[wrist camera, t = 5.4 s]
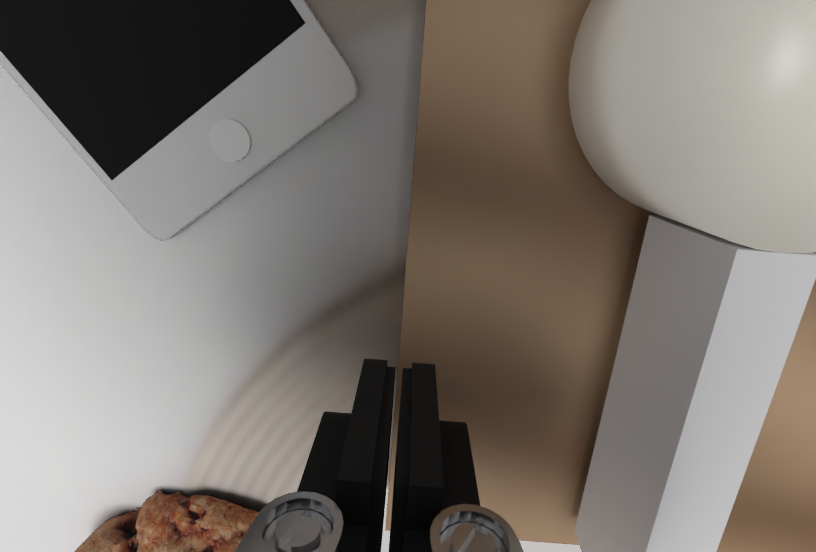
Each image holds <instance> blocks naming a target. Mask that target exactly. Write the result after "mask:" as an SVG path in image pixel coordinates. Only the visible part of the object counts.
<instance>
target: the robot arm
mask: <svg viewBox="0 0 816 552" xmlns="http://www.w3.org/2000/svg"><path fill="white" fill-rule="evenodd" d="M395 369H396V367H387V360H375V359H364V362H363V366H362V371H361V375H360V379H359V384H358V388H357V392H356V397H355V401H354V405H353V409H352V414H351V413H338V412H324V414H323V416H322V419H321V422H320V425H319V428H318V431H317V434H316V437H315V440H314V443H313V446H312V449H311V452H310V455H309V458H308V461H307V464H306V467H305V470H304V473H303V476H302V479H301V482H300V485H299V488H298V491H297V492H294V493H288V494H286V495H283V496H281V497H278V498H276V499H274V500H273V501H271V502H270V503H269V504H267V505H266V506H264V508H263V509H262V510H261V511H260V512H259V514H258V515H257V516H256V517H255V519H254V521H253V522H252V524H251V526H250V527H249V529H248V530H247V532H246V534H245V535H244V537H243V539H242V540H241V542H240V544H239V545H238V547H237V548H236V550H235V552H381V541H382V530H383V519H384V508H385V496H386V485H387V474H388V461H389V448H390V435H391V422H392V409H393V395H394V382H395ZM389 552H523V549H522V547H521V545H520V542H519V540H518V537H517V535H516V534H515V532H514V530H513V529H512V527H511V525H510V524H509V523H508V522H507V521H506V520H505V519H503V518H502V517H501V516H500V515H498V514H497V513H495V512H493V511H492V510H490V509H488V508H485V507H481V506H480V500H479V494H478V488H477V482H476V476H475V469H474V463H473V457H472V451H471V445H470V439H469V433H468V427H467V424H466V423H465V422H453V421H441V420H439V411H438V397H437V383H436V369H435V364H426V363H413V362H412V368H403V373H402V385H401V397H400V410H399V422H398V434H397V446H396V459H395V471H394V486H393V500H392V515H391V529H390V544H389Z"/></svg>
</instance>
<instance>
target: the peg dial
mask: <svg viewBox="0 0 816 552" xmlns="http://www.w3.org/2000/svg"><path fill="white" fill-rule="evenodd" d="M569 105H570V112H571V119H572V123H573V127H574V130H575V134H576V137H577V140H578V142H579V144H580V147H581V149H582V151H583V154H584V156H585V157H586V159H587V160H588V162H589V164H590V165H591V167H592V168H593V170H594V171H595V172H596V174H597V175H598V176H599V177H600V178H601V179H602V181H603V182H604V183H605V184H606V185H607V186H609V187H610V188H611V189H612V190H613V191H614V192H615V193H616V194H618V195H619V196H621V197H622V198H624V199H626V200H627V201H629V202H630V203H632V204H634V205H636V206H638V207H641V208H643V209H645V210H647V211H650V212H653V213H655V214H658V215H661V216H653V215H649V219H648V223H647V227H646V231H645V235H644V240H643V244H642V248H641V252H640V256H639V261H638V265H637V269H636V273H635V278H634V282H633V286H632V290H631V294H630V299H629V303H628V307H627V311H626V315H625V320H624V324H623V328H622V332H621V337H620V341H619V345H618V349H617V353H616V358H615V362H614V366H613V370H612V374H611V379H610V383H609V387H608V391H607V395H606V400H605V404H604V408H603V412H602V417H601V421H600V425H599V429H598V433H597V438H596V442H595V446H594V450H593V454H592V459H591V463H590V467H589V471H588V476H587V480H586V484H585V488H584V492H583V497H582V501H581V505H580V509H579V513H578V518H577V522H576V526H575V530H574V532H575V535H576V537H577V540H578V542H579V545H580V548H581V550H582V552H716V551H717V549H718V546H719V543H720V540H721V538H722V535H723V532H724V529H725V527H726V524H727V521H728V518H729V516H730V513H731V510H732V507H733V505H734V502H735V499H736V496H737V494H738V491H739V488H740V485H741V483H742V480H743V477H744V474H745V472H746V469H747V466H748V464H749V461H750V458H751V455H752V453H753V450H754V447H755V444H756V442H757V439H758V436H759V433H760V431H761V428H762V425H763V422H764V420H765V417H766V414H767V411H768V409H769V406H770V403H771V400H772V398H773V395H774V392H775V389H776V387H777V384H778V381H779V378H780V376H781V373H782V370H783V367H784V365H785V362H786V359H787V356H788V354H789V351H790V348H791V345H792V343H793V340H794V337H795V334H796V332H797V329H798V326H799V323H800V321H801V318H802V315H803V312H804V310H805V307H806V304H807V301H808V299H809V296H810V293H811V290H812V288H813V285H814V282H815V279H816V253H813V252H816V0H591V2H590V4H589V6H588V8H587V10H586V12H585V14H584V16H583V19H582V21H581V24H580V27H579V30H578V33H577V36H576V39H575V43H574V48H573V52H572V56H571V62H570V72H569Z"/></svg>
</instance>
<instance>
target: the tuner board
mask: <svg viewBox="0 0 816 552" xmlns="http://www.w3.org/2000/svg"><path fill="white" fill-rule="evenodd" d="M590 2H591V0H426V12H425V25H424V38H423V51H422V64H421V77H420V90H419V103H418V116H417V129H416V142H415V154H414V167H413V180H412V193H411V206H410V219H409V232H408V245H407V258H406V271H405V284H404V297H403V310H402V323H401V336H400V349H399V362H398V375H397V387H396V400H395V413H394V426H393V439H392V452H391V465H390V478H389V491H388V504H387V517H386V530H390V529H391V515H392V500H393V486H394V471H395V459H396V446H397V434H398V422H399V410H400V397H401V385H402V373H403V368H412V362H413V363H426V364H435V369H436V383H437V397H438V411H439V420H441V421H453V422H465V423H466V424H467V427H468V433H469V439H470V445H471V451H472V457H473V463H474V469H475V476H476V482H477V488H478V494H479V500H480V506H481V507H485V508H488V509H490V510H492V511H493V512H495V513H497V514H498V515H500V516H501V517H502V518H503V519H505V520H506V521H507V522H508V523H509V524H510V525H511V527H512V529H513V530H514V532H515V534H516V535H517V537H518V540H522V541H535V542H549V543H562V544H574V545H579V542H578V540H577V537H576V535H575V532H574V530H575V526H576V522H577V518H578V513H579V509H580V505H581V501H582V497H583V492H584V488H585V484H586V480H587V476H588V471H589V467H590V463H591V459H592V454H593V450H594V446H595V442H596V438H597V433H598V429H599V425H600V421H601V417H602V412H603V408H604V404H605V400H606V395H607V391H608V387H609V383H610V379H611V374H612V370H613V366H614V362H615V358H616V353H617V349H618V345H619V341H620V337H621V332H622V328H623V324H624V320H625V315H626V311H627V307H628V303H629V299H630V294H631V290H632V286H633V282H634V278H635V273H636V269H637V265H638V261H639V256H640V252H641V248H642V244H643V240H644V235H645V231H646V227H647V223H648V219H649V215H653V216H661V215H658V214H655V213H653V212H650V211H647V210H645V209H643V208H641V207H638V206H636V205H634V204H632V203H630V202H629V201H627V200H626V199H624V198H622V197H621V196H619V195H618V194H616V193H615V192H614V191H613V190H612V189H611V188H610V187H609V186H607V185H606V184H605V183H604V182H603V181H602V179H601V178H600V177H599V176H598V175H597V174H596V172H595V171H594V170H593V168H592V167H591V165H590V164H589V162H588V160H587V159H586V157H585V156H584V154H583V151H582V149H581V147H580V144H579V142H578V140H577V137H576V134H575V130H574V127H573V123H572V119H571V112H570V105H569V72H570V62H571V56H572V52H573V48H574V43H575V39H576V36H577V33H578V30H579V27H580V24H581V21H582V19H583V16H584V14H585V12H586V10H587V8H588V6H589V4H590ZM813 253H816V252H813ZM716 552H816V279H815V282H814V285H813V288H812V290H811V293H810V296H809V299H808V301H807V304H806V307H805V310H804V312H803V315H802V318H801V321H800V323H799V326H798V329H797V332H796V334H795V337H794V340H793V343H792V345H791V348H790V351H789V354H788V356H787V359H786V362H785V365H784V367H783V370H782V373H781V376H780V378H779V381H778V384H777V387H776V389H775V392H774V395H773V398H772V400H771V403H770V406H769V409H768V411H767V414H766V417H765V420H764V422H763V425H762V428H761V431H760V433H759V436H758V439H757V442H756V444H755V447H754V450H753V453H752V455H751V458H750V461H749V464H748V466H747V469H746V472H745V474H744V477H743V480H742V483H741V485H740V488H739V491H738V494H737V496H736V499H735V502H734V505H733V507H732V510H731V513H730V516H729V518H728V521H727V524H726V527H725V529H724V532H723V535H722V538H721V540H720V543H719V546H718V549H717V551H716Z"/></svg>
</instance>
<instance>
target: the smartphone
mask: <svg viewBox="0 0 816 552" xmlns="http://www.w3.org/2000/svg"><path fill="white" fill-rule="evenodd" d="M0 64H1V65H2V66H3V68H4V69H5V70H6V71H7V72H8V73H9V74H10V76H11V77H12V78H13V79H14V80H15V81H16V83H17V84H18V85H19V86H20V87H21V88H22V89H23V91H24V92H25V93H26V94H27V95H28V96H29V98H30V99H31V100H32V101H33V102H34V103H35V104H36V106H37V107H38V108H39V109H40V110H41V111H42V113H43V114H44V115H45V116H46V117H47V118H48V119H49V121H50V122H51V123H52V124H53V125H54V126H55V128H56V129H57V130H58V131H59V132H60V133H61V134H62V136H63V137H64V138H65V139H66V140H67V141H68V143H69V144H70V145H71V146H72V147H73V148H74V149H75V151H76V152H77V153H78V154H79V155H80V156H81V158H82V159H83V160H84V161H85V162H86V163H87V164H88V166H89V167H90V168H91V169H92V170H93V171H94V173H95V174H96V175H97V176H98V177H99V178H100V179H101V181H102V182H103V183H104V184H105V185H106V186H107V188H108V189H109V190H110V191H111V192H112V193H113V194H114V196H115V197H116V198H117V199H118V200H119V201H120V202H121V204H122V205H123V206H124V207H125V208H126V209H127V211H128V212H129V213H130V214H131V215H132V216H133V217H134V219H135V220H136V221H137V222H138V223H139V224H140V226H141V227H142V228H143V229H144V230H145V231H146V232H147V233H149V234H150V235H151V236H153V237H154V238H156V239H159V240H161V241H164V240H168V239H170V238H172V237H174V236H176V235H177V234H178V233H180V232H181V231H182V230H184V229H185V228H186V227H187V226H189V225H190V224H191V223H193V222H194V221H195V220H197V219H198V218H199V217H201V216H202V215H203V214H205V213H206V212H207V211H209V210H210V209H211V208H213V207H214V206H215V205H217V204H218V203H219V202H221V201H222V200H223V199H225V198H226V197H227V196H229V195H230V194H231V193H233V192H234V191H235V190H237V189H238V188H239V187H241V186H242V185H243V184H245V183H246V182H247V181H248V180H250V179H251V178H252V177H254V176H255V175H256V174H258V173H259V172H260V171H262V170H263V169H264V168H266V167H267V166H268V165H270V164H271V163H272V162H274V161H275V160H276V159H278V158H279V157H280V156H282V155H283V154H284V153H286V152H287V151H288V150H290V149H291V148H292V147H294V146H295V145H296V144H298V143H299V142H300V141H302V140H303V139H304V138H306V137H307V136H308V135H310V134H311V133H312V132H313V131H315V130H316V129H317V128H319V127H320V126H321V125H323V124H324V123H325V122H327V121H328V120H329V119H331V118H332V117H333V116H335V115H336V114H337V113H339V112H340V111H341V110H343V109H344V108H345V107H347V106H348V105H349V104H351V103H352V102H353V101H355V100H356V98H357V96H358V86H357V83H356V79H355V77H354V75H353V73H352V72H351V70H350V68H349V66H348V65H347V63H346V62H345V60H344V59H343V57H342V56H341V54H340V53H339V51H338V50H337V48H336V47H335V45H334V44H333V42H332V41H331V39H330V38H329V36H328V35H327V33H326V32H325V30H324V29H323V27H322V26H321V24H320V23H319V21H318V20H317V18H316V17H315V15H314V14H313V12H312V11H311V9H310V8H309V6H308V5H307V3H306V2H305V0H0Z"/></svg>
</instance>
